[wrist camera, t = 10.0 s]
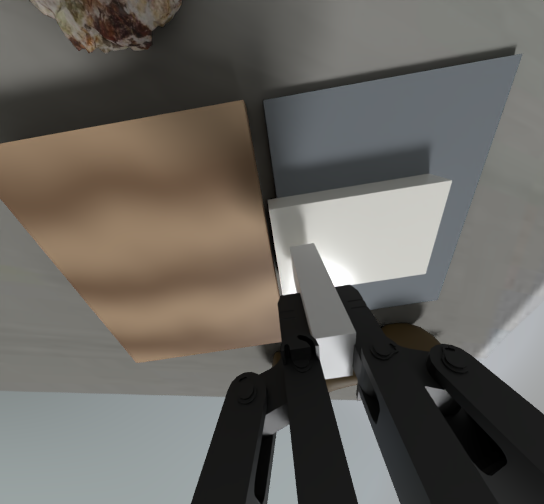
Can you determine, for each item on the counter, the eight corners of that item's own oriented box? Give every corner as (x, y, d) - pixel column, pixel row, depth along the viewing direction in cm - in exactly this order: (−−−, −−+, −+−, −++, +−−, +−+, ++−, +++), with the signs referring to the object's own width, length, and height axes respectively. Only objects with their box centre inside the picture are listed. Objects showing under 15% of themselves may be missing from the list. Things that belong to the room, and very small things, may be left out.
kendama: (269, 325, 23) (456, 316, 23) (272, 373, 28) (425, 366, 28) (271, 385, 18) (511, 373, 18) (274, 430, 23) (460, 421, 23)
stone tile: (267, 199, 15) (268, 209, 13) (429, 173, 14) (452, 180, 13) (280, 279, 18) (282, 295, 17) (409, 259, 18) (425, 273, 16)
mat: (263, 100, 12) (263, 100, 12) (515, 55, 12) (522, 53, 11) (293, 317, 21) (294, 321, 21) (434, 296, 21) (437, 299, 21)
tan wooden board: (11, 146, 13) (-40, 150, 10) (245, 104, 12) (243, 99, 10) (148, 339, 22) (136, 363, 20) (283, 319, 21) (286, 341, 19)
